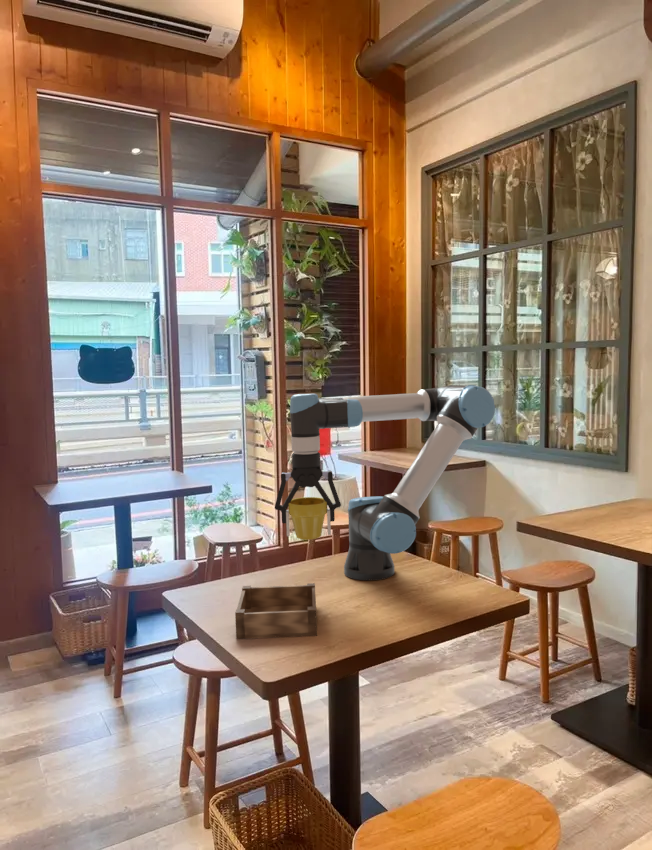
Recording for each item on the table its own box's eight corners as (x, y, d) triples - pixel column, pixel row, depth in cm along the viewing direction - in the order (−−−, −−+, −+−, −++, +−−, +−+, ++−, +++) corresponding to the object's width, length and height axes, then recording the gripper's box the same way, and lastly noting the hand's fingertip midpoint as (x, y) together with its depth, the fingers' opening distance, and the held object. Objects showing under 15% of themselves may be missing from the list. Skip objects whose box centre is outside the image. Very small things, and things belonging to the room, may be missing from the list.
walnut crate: (315, 606, 168) (314, 583, 167) (317, 635, 149) (316, 609, 148) (243, 609, 167) (242, 586, 166) (236, 638, 148) (235, 612, 148)
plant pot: (323, 542, 167) (322, 505, 166) (285, 541, 169) (283, 504, 168) (331, 532, 177) (330, 497, 176) (295, 531, 179) (293, 496, 178)
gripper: (347, 448, 175) (350, 529, 177) (263, 451, 174) (266, 532, 176) (349, 452, 167) (352, 536, 169) (261, 455, 167) (265, 539, 169)
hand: (308, 534), depth 173 cm, fingers closed on plant pot, 10 cm apart
